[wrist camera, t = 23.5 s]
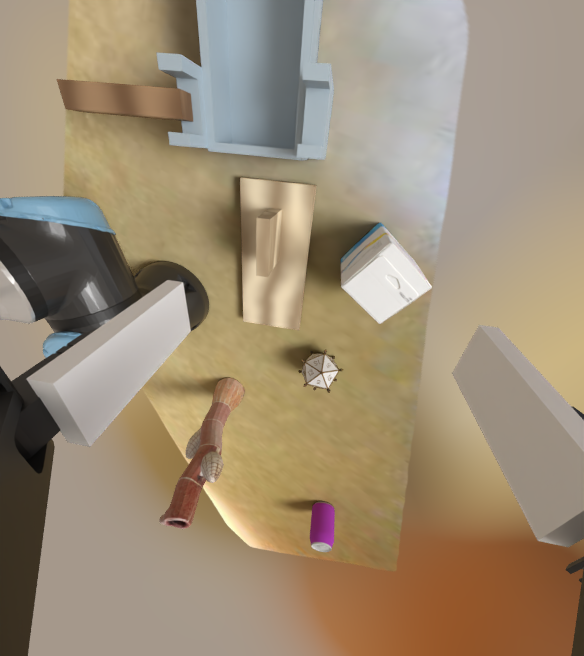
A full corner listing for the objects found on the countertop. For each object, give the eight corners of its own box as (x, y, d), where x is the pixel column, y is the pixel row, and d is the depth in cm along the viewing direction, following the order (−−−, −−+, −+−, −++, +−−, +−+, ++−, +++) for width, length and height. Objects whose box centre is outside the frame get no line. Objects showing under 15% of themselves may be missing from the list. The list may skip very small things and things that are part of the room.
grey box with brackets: (211, 150, 39) (170, 148, 30) (187, -178, 25) (93, -384, 16) (325, 161, 38) (319, 162, 28) (368, -181, 24) (385, -411, 14)
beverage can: (318, 511, 95) (315, 553, 85) (308, 500, 92) (304, 542, 82) (338, 510, 92) (337, 553, 83) (329, 499, 89) (327, 542, 79)
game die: (330, 351, 61) (349, 390, 55) (296, 365, 60) (312, 406, 55) (327, 333, 53) (349, 377, 48) (288, 349, 53) (306, 395, 48)
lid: (246, 316, 55) (229, 344, 47) (244, 176, 41) (219, 181, 33) (300, 324, 54) (292, 355, 46) (316, 184, 40) (310, 191, 32)
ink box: (339, 258, 45) (338, 286, 36) (380, 220, 41) (392, 240, 31) (372, 291, 47) (379, 326, 38) (414, 258, 43) (434, 288, 34)
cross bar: (83, 112, 32) (65, 109, 30) (75, 84, 31) (56, 79, 28) (193, 121, 31) (182, 119, 29) (190, 93, 29) (179, 88, 27)
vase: (219, 397, 70) (151, 530, 45) (211, 376, 66) (132, 509, 41) (257, 399, 68) (208, 539, 43) (252, 377, 64) (194, 518, 39)
